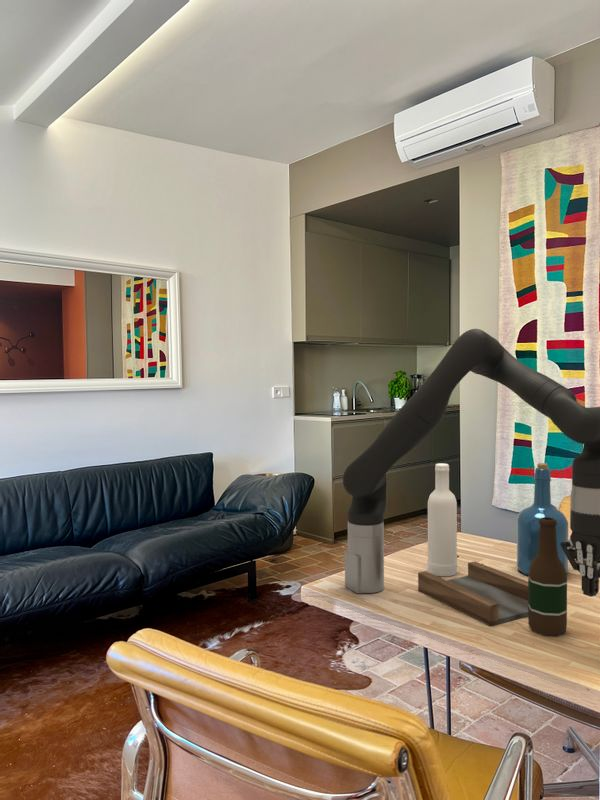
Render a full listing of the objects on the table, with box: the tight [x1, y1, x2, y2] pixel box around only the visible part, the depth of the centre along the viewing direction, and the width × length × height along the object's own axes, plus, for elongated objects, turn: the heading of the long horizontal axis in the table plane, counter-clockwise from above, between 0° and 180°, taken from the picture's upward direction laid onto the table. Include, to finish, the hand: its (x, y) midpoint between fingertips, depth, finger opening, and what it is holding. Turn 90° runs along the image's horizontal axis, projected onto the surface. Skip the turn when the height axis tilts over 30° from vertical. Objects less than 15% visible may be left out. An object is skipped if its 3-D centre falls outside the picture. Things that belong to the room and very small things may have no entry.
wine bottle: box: [516, 462, 569, 576], centre depth 168 cm, size 14×13×30 cm
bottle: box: [427, 462, 458, 578], centre depth 168 cm, size 8×8×30 cm
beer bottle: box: [527, 517, 568, 637], centre depth 131 cm, size 8×8×24 cm
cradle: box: [417, 561, 528, 627], centre depth 148 cm, size 19×25×4 cm
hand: (590, 594), depth 121 cm, fingers closed
